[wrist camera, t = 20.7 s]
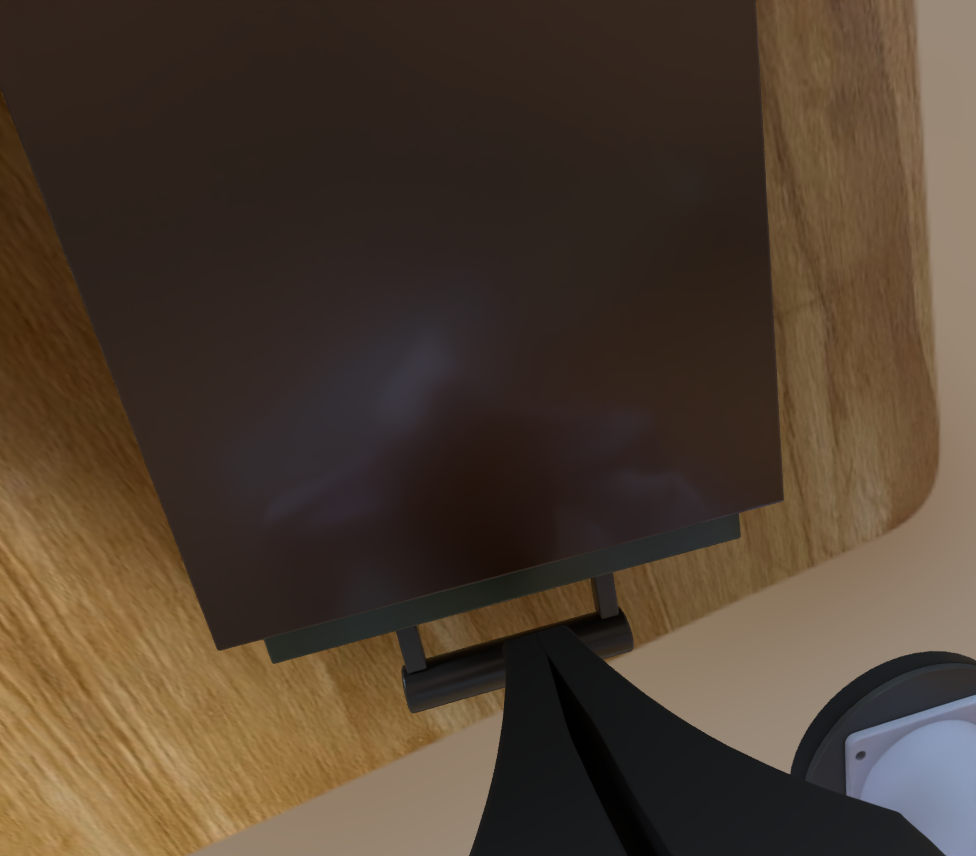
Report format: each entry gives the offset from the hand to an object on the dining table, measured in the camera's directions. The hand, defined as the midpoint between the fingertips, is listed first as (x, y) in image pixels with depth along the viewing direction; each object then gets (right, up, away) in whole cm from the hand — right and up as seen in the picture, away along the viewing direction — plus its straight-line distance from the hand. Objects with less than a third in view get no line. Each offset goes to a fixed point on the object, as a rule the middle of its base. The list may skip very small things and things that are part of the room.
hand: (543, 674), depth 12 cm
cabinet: (-3, +11, +7) cm, 13 cm away
